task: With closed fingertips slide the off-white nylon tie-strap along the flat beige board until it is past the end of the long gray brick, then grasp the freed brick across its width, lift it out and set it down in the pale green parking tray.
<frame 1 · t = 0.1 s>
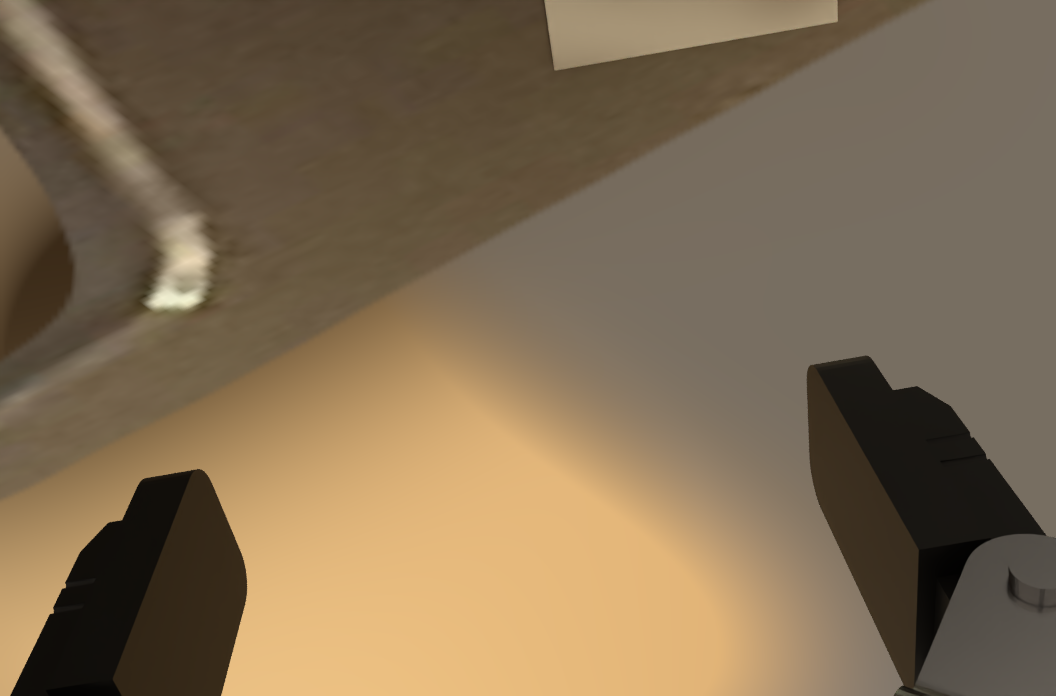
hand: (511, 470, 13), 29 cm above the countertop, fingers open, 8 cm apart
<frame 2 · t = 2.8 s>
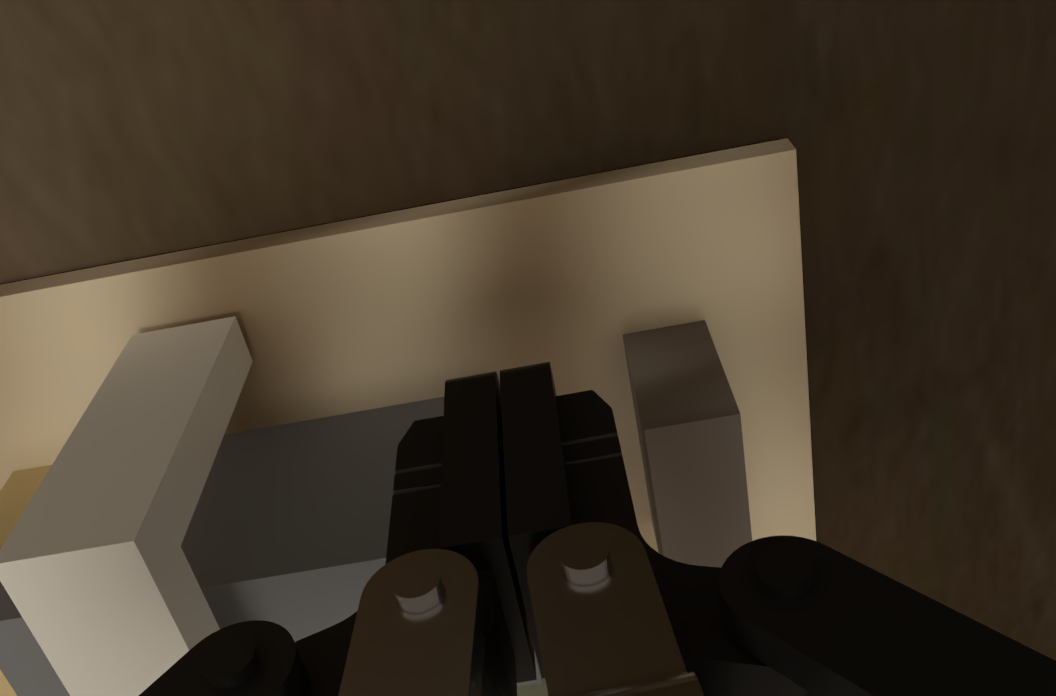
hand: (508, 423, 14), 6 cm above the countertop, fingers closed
strap: (224, 616, 18), point 4 cm above the countertop, slide at 0.0 cm
flat beige board: (266, 480, 22), on the countertop
long gray brick: (307, 490, 21), point 1 cm above the countertop, touching flat beige board
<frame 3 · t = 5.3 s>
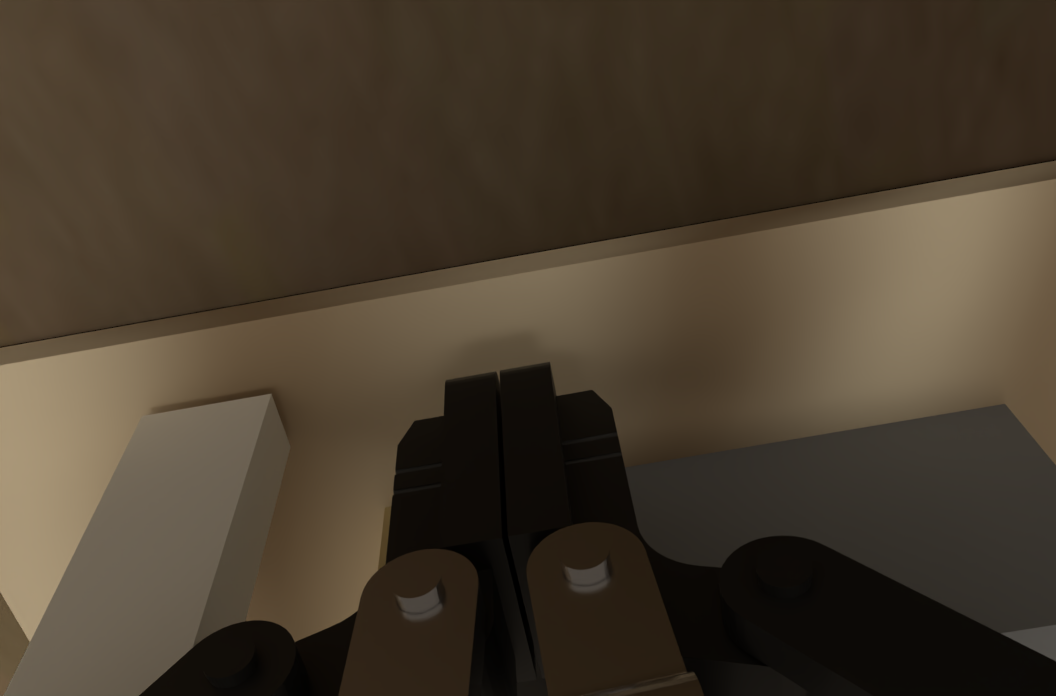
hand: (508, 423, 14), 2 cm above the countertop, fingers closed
flat beige board: (670, 516, 18), on the countertop
long gray brick: (734, 529, 17), point 1 cm above the countertop, touching flat beige board
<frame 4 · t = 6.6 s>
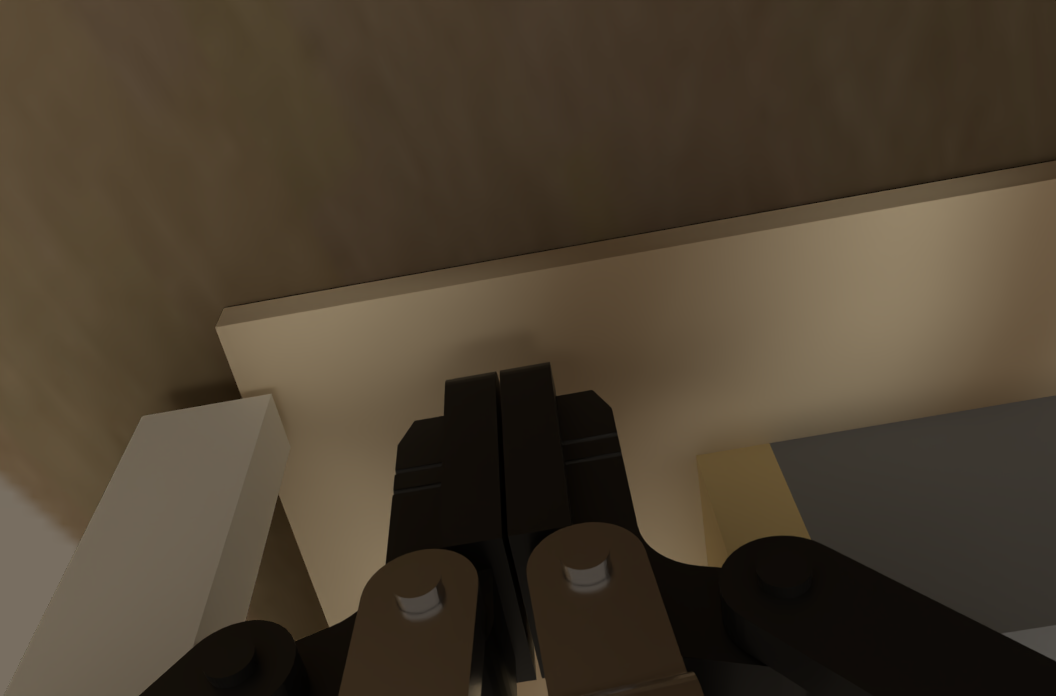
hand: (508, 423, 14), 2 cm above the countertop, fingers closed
flat beige board: (964, 467, 18), on the countertop
long gray brick: (1039, 479, 17), point 1 cm above the countertop, touching flat beige board
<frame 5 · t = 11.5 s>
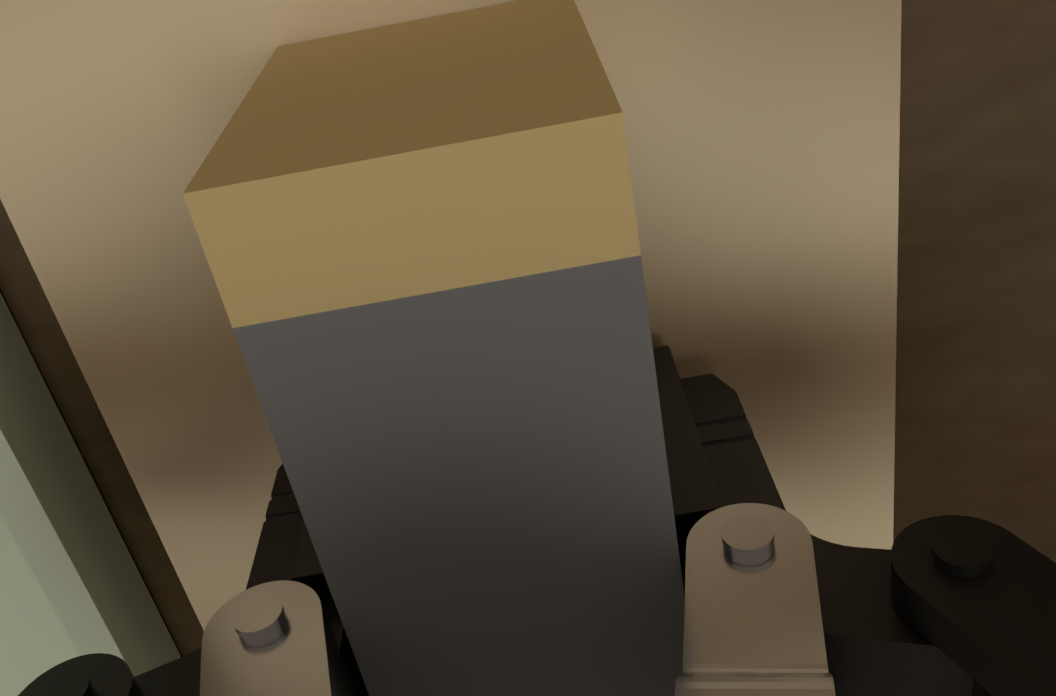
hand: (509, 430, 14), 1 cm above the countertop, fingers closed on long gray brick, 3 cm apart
flat beige board: (495, 342, 14), on the countertop
long gray brick: (512, 423, 14), point 1 cm above the countertop, touching gripper, flat beige board
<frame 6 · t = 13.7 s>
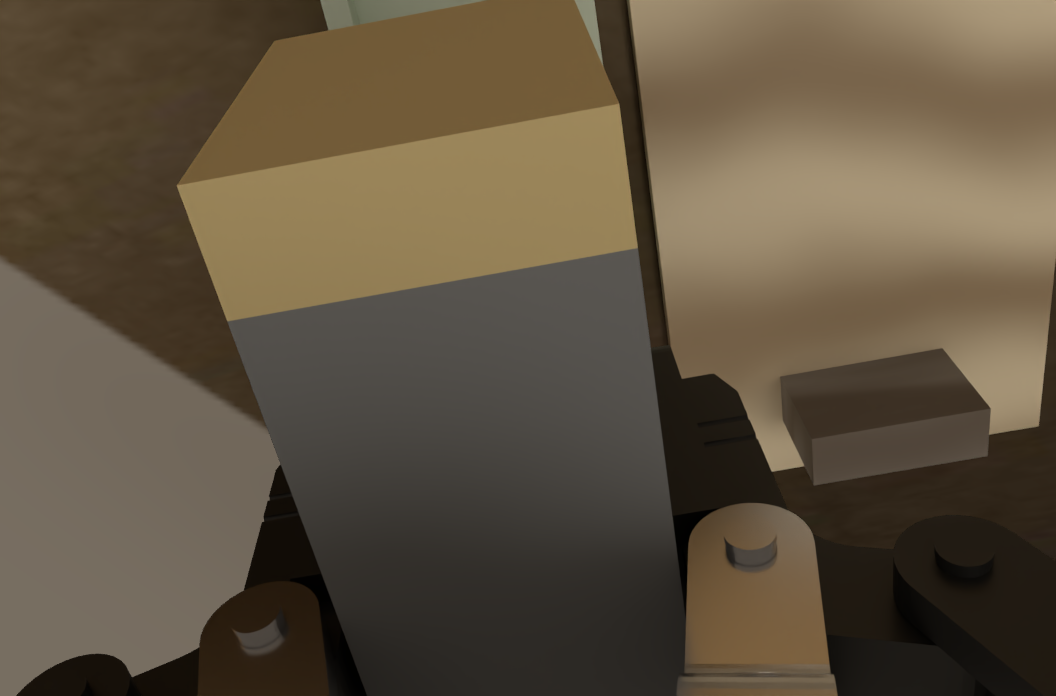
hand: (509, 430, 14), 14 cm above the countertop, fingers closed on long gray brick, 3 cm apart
flat beige board: (851, 93, 26), on the countertop
long gray brick: (510, 419, 14), point 14 cm above the countertop, touching gripper
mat: (485, 123, 26), on the countertop
when the fingers open (2 cm above the countertop, at t = 16.1 s): long gray brick drops 1 cm, resting on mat.
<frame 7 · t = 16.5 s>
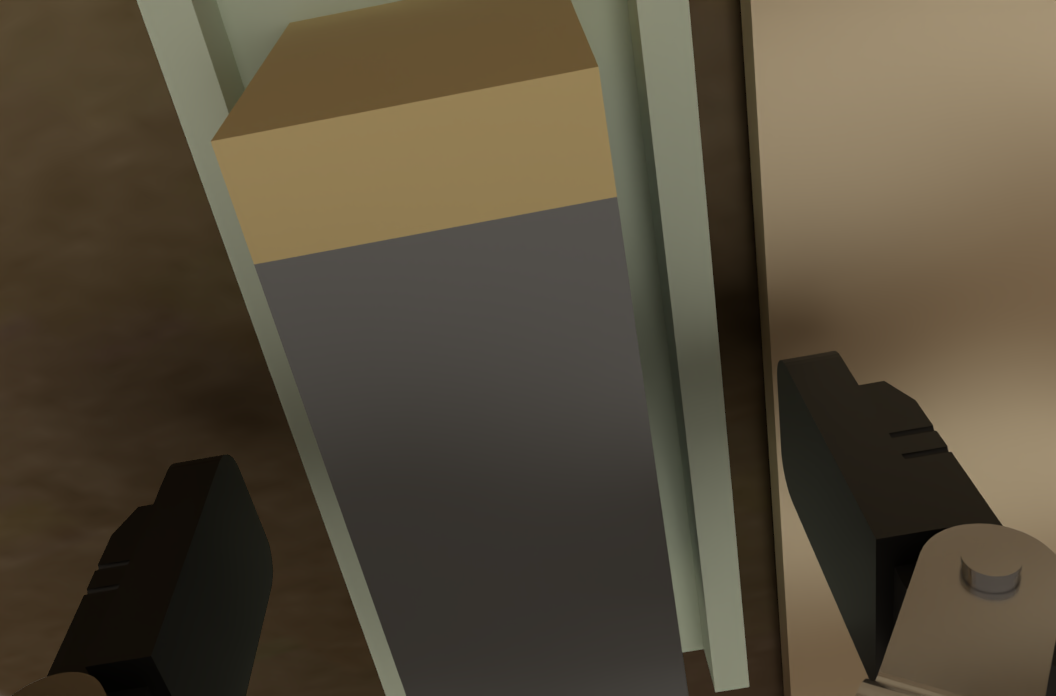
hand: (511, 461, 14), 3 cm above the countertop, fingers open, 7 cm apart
long gray brick: (508, 378, 15), resting on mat
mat: (505, 364, 16), on the countertop
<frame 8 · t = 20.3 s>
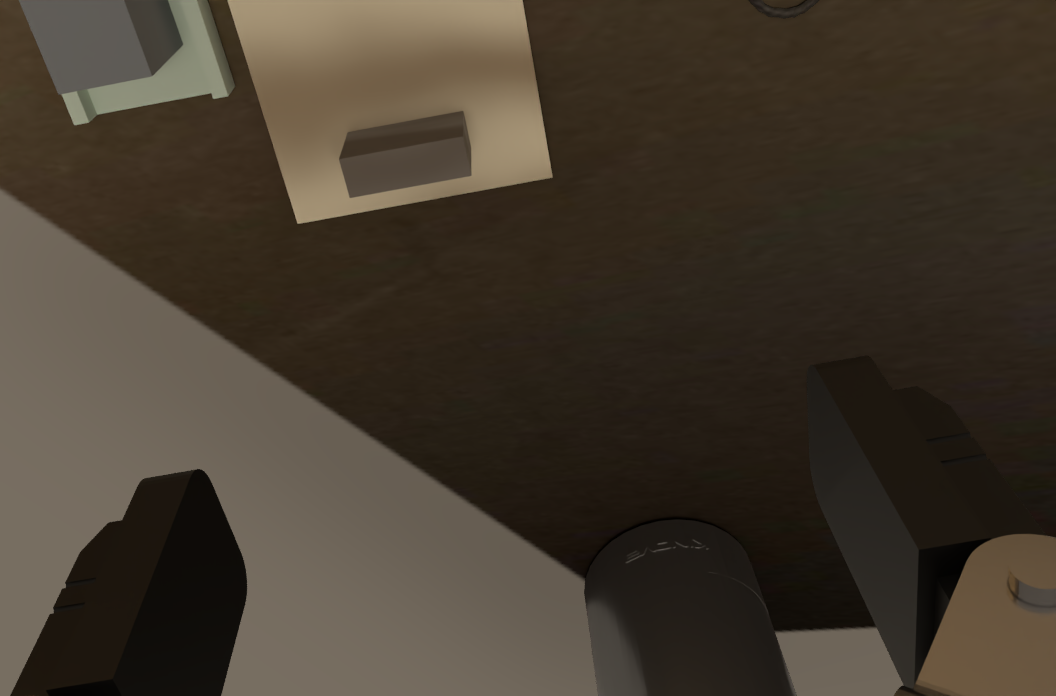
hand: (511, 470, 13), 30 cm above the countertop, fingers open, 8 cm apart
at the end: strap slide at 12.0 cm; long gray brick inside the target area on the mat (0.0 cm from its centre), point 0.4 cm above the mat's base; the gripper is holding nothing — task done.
